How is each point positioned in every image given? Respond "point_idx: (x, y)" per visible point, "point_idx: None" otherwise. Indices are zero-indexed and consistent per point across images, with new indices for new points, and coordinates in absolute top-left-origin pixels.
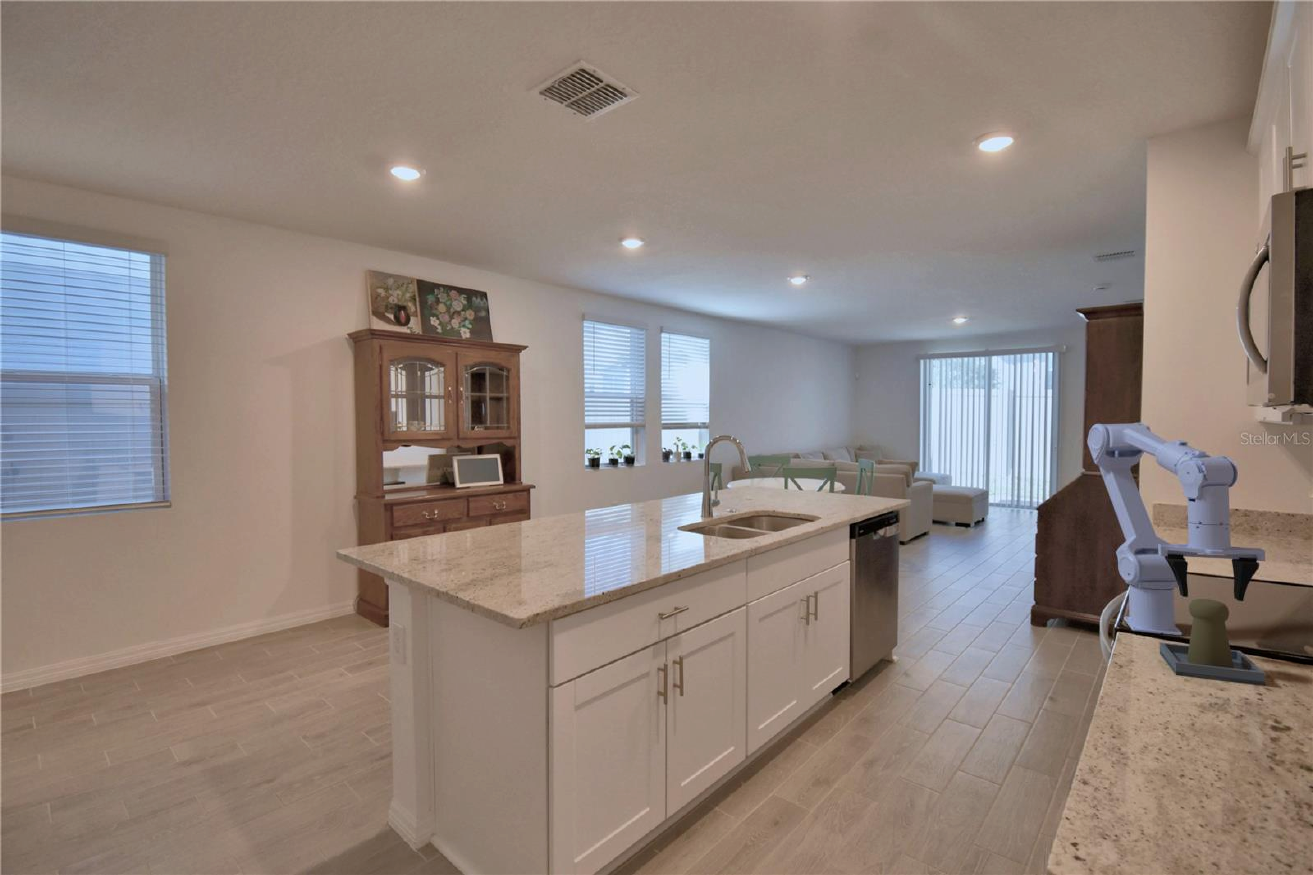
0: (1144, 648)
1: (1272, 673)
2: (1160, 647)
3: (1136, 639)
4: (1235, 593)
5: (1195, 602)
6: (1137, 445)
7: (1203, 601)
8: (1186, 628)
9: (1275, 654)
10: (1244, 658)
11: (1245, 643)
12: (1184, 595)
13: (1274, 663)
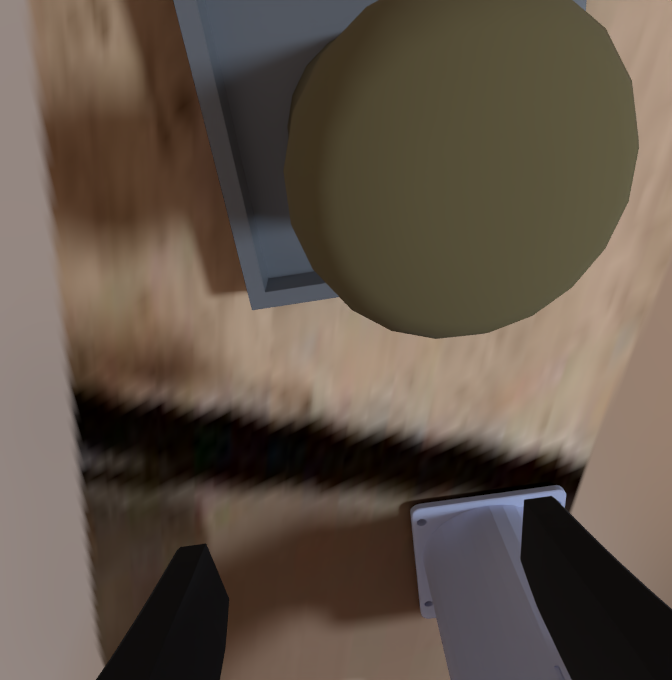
0: (580, 290)
1: (152, 195)
2: None
3: (575, 398)
4: (214, 624)
5: (624, 117)
6: None
7: (552, 121)
8: (382, 586)
9: (152, 453)
10: (239, 187)
11: (234, 522)
12: (551, 504)
13: (151, 344)
